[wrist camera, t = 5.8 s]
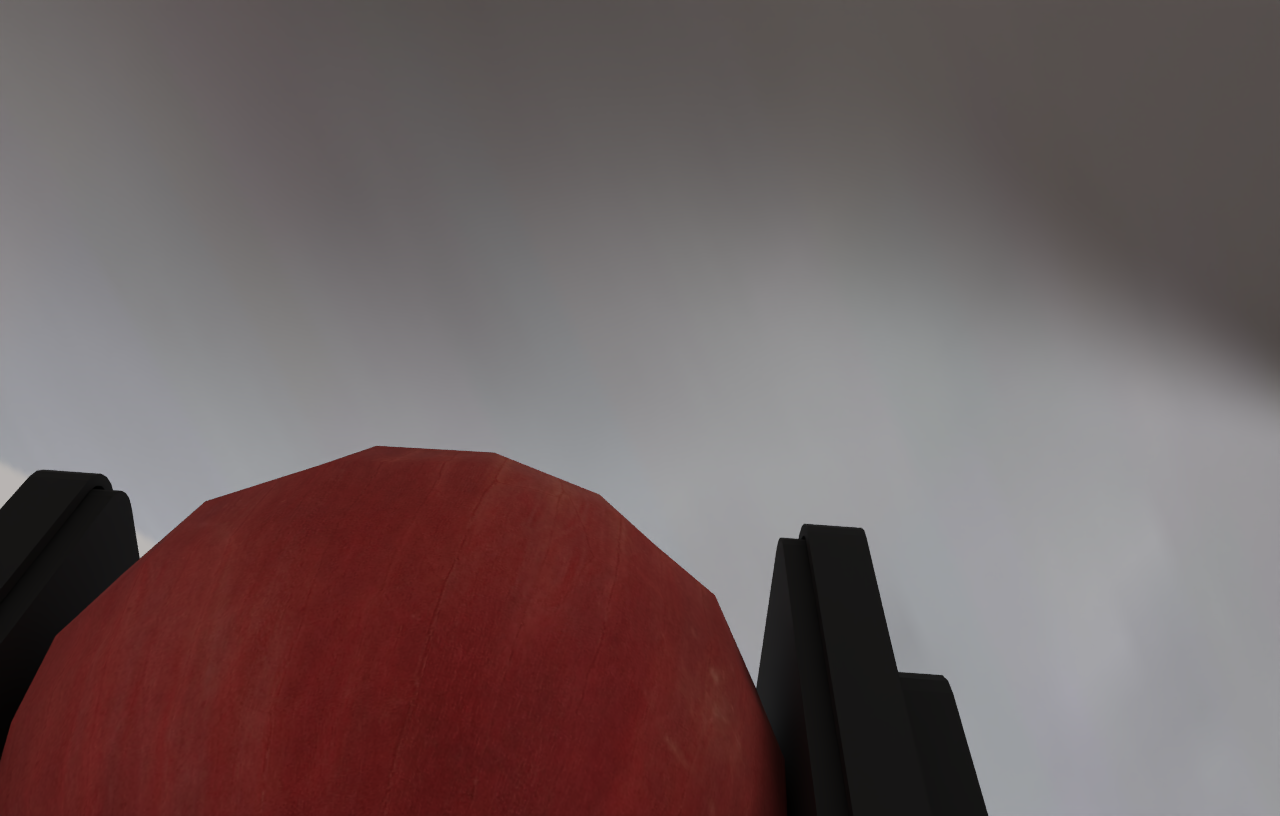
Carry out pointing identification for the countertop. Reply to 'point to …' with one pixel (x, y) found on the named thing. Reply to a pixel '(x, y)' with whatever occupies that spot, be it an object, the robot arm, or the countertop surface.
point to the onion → (397, 661)
